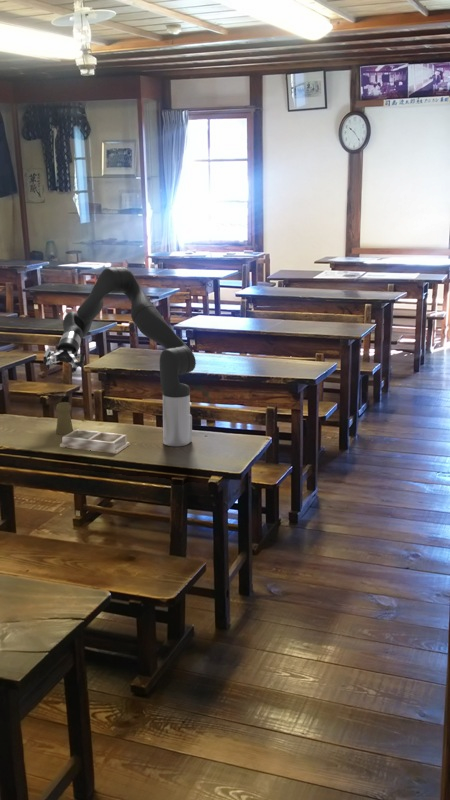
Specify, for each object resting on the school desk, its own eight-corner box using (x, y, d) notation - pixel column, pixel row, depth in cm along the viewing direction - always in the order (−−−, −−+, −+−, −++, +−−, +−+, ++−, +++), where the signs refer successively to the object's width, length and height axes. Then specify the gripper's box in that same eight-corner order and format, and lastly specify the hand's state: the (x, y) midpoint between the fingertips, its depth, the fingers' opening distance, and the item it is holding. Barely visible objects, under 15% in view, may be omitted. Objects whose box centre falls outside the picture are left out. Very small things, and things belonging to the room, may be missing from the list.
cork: (71, 435, 279) (70, 405, 277) (54, 434, 279) (53, 404, 277) (74, 430, 285) (73, 400, 282) (58, 429, 285) (56, 400, 283)
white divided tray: (60, 446, 266) (59, 436, 265) (74, 438, 275) (74, 428, 275) (116, 453, 260) (116, 443, 259) (129, 444, 269) (129, 435, 268)
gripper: (49, 334, 289) (40, 357, 276) (88, 339, 290) (81, 362, 277) (49, 351, 294) (40, 375, 280) (88, 356, 294) (80, 380, 281)
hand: (60, 369), depth 278 cm, fingers open, 8 cm apart
